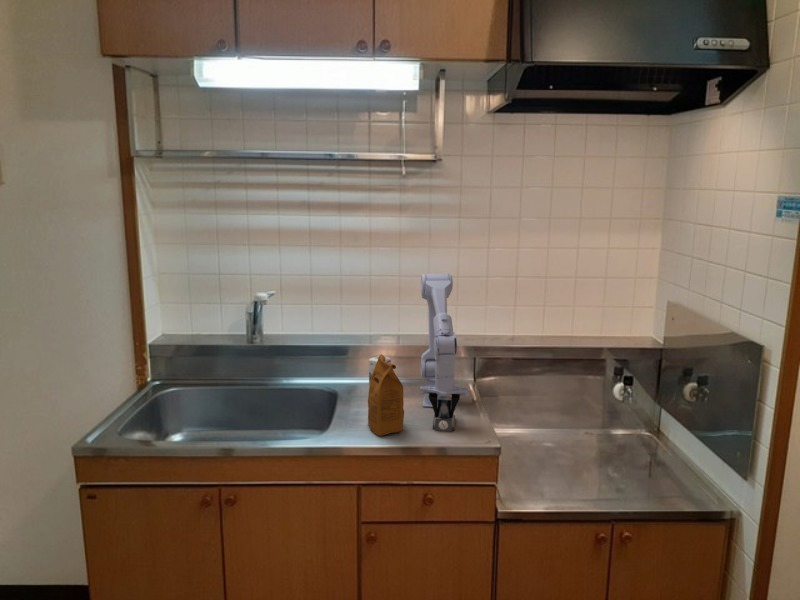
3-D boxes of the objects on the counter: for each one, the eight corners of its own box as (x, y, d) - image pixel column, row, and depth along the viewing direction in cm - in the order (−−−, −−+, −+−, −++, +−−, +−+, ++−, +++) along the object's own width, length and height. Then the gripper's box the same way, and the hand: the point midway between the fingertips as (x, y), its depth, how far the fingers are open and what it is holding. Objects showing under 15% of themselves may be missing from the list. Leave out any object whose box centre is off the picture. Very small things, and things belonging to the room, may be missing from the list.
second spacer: (436, 418, 177) (436, 399, 177) (438, 416, 181) (439, 398, 181) (449, 419, 176) (450, 400, 177) (451, 417, 180) (451, 399, 180)
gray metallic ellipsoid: (438, 412, 186) (438, 395, 185) (451, 412, 186) (451, 396, 185) (437, 417, 182) (438, 400, 181) (450, 417, 182) (451, 401, 181)
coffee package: (394, 418, 186) (394, 351, 181) (407, 434, 174) (407, 363, 170) (364, 421, 183) (363, 354, 178) (374, 438, 171) (374, 366, 167)
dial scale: (434, 417, 187) (434, 406, 186) (455, 418, 186) (455, 407, 185) (432, 431, 176) (432, 420, 176) (454, 432, 176) (454, 421, 175)
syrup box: (391, 397, 203) (391, 357, 200) (382, 403, 198) (382, 361, 195) (378, 394, 206) (378, 354, 203) (368, 399, 201) (368, 359, 198)
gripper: (419, 377, 173) (419, 420, 176) (469, 379, 172) (467, 423, 174) (421, 370, 180) (421, 411, 183) (469, 372, 178) (467, 414, 181)
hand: (443, 416), depth 179 cm, fingers closed on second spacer, 4 cm apart
